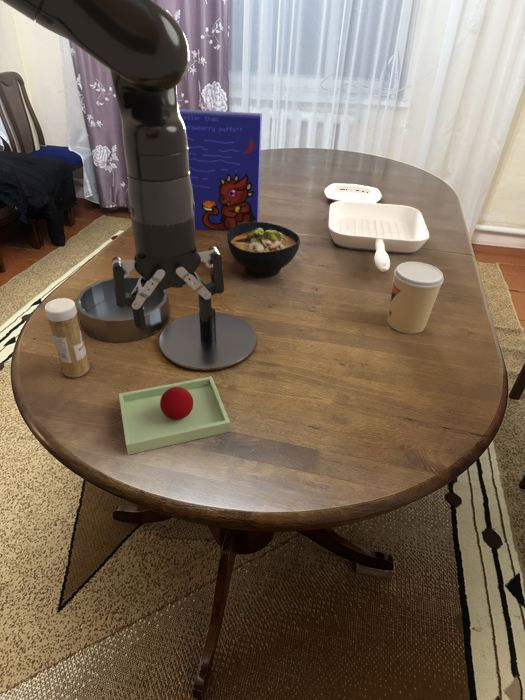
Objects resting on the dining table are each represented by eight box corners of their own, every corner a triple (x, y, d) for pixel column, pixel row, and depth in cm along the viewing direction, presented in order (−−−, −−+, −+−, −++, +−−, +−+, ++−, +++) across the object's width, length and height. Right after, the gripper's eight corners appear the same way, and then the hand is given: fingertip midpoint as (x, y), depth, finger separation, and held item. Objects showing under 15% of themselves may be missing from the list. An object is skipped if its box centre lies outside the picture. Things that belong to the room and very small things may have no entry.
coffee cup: (390, 307, 102) (401, 256, 95) (433, 319, 99) (448, 267, 92) (377, 327, 95) (389, 275, 88) (423, 341, 92) (439, 287, 85)
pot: (83, 349, 86) (77, 326, 83) (80, 302, 99) (75, 281, 96) (176, 334, 91) (174, 312, 88) (162, 291, 104) (160, 271, 101)
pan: (415, 221, 144) (419, 206, 141) (438, 289, 109) (444, 271, 107) (328, 213, 146) (330, 198, 144) (323, 278, 112) (326, 260, 109)
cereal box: (258, 224, 137) (261, 112, 120) (256, 232, 133) (260, 116, 115) (185, 220, 138) (177, 108, 120) (181, 228, 133) (172, 112, 115)
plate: (379, 211, 150) (380, 205, 149) (320, 204, 153) (321, 198, 152) (381, 192, 165) (382, 187, 164) (327, 186, 168) (328, 181, 167)
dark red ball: (160, 427, 70) (166, 406, 67) (155, 401, 73) (160, 380, 70) (192, 425, 72) (199, 404, 69) (186, 400, 75) (192, 379, 72)
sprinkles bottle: (94, 372, 81) (78, 306, 73) (67, 382, 79) (48, 314, 71) (85, 359, 84) (69, 294, 76) (59, 367, 82) (40, 301, 74)
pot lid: (169, 381, 80) (165, 348, 76) (152, 324, 94) (149, 293, 89) (269, 362, 85) (271, 330, 81) (240, 310, 99) (240, 281, 95)
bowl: (263, 294, 105) (265, 253, 99) (213, 268, 114) (212, 229, 108) (311, 270, 115) (315, 232, 109) (261, 248, 124) (262, 212, 118)
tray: (128, 455, 67) (125, 445, 65) (120, 403, 75) (118, 393, 74) (230, 431, 71) (230, 422, 70) (212, 385, 79) (211, 376, 78)
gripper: (213, 196, 61) (216, 303, 70) (99, 205, 57) (119, 316, 66) (228, 216, 55) (229, 330, 65) (102, 228, 51) (124, 347, 61)
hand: (173, 323), depth 66 cm, fingers open, 8 cm apart
